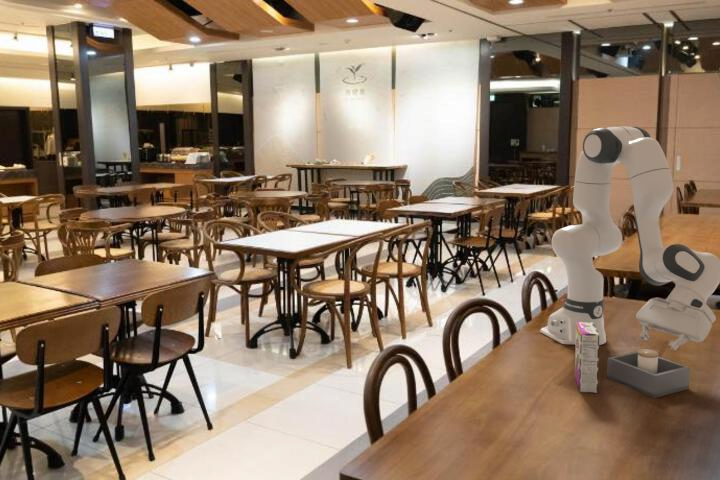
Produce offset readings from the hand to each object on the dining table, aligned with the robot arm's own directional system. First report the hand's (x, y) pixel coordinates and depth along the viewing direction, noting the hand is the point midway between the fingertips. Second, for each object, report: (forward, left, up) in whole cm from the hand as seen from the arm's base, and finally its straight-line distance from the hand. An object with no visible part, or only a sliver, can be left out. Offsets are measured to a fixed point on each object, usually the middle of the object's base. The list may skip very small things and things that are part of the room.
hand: (656, 343), depth 179 cm
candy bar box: (-7, -19, -11) cm, 23 cm away
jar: (0, -3, -10) cm, 10 cm away
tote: (0, -3, -11) cm, 11 cm away
